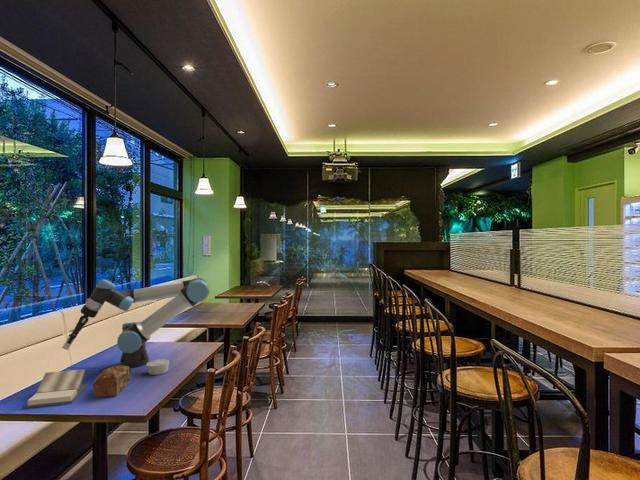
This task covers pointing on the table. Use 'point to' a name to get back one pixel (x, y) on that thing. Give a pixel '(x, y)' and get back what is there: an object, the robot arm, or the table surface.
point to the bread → (111, 381)
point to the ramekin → (157, 366)
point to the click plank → (61, 381)
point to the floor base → (54, 397)
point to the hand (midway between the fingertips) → (67, 344)
